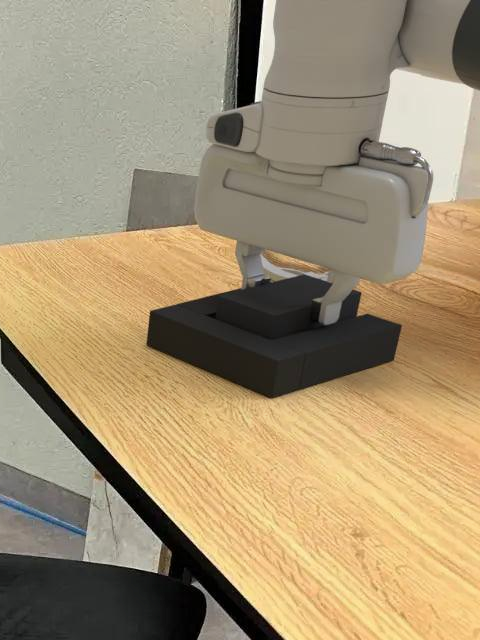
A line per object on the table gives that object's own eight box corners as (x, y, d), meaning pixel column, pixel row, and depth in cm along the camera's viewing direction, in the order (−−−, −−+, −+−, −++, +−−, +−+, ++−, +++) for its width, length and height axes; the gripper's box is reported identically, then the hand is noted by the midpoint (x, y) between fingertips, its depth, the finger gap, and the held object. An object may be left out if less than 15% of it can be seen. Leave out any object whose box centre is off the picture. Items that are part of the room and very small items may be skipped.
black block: (298, 308, 99) (304, 274, 97) (354, 327, 94) (362, 292, 93) (213, 331, 94) (218, 295, 93) (268, 352, 90) (274, 315, 88)
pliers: (356, 246, 114) (391, 293, 102) (352, 261, 115) (388, 310, 103) (254, 244, 115) (277, 291, 103) (252, 260, 116) (274, 308, 104)
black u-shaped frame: (263, 313, 103) (269, 280, 101) (394, 360, 93) (402, 324, 91) (145, 344, 97) (149, 310, 95) (271, 398, 87) (277, 360, 85)
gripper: (467, 147, 80) (421, 337, 87) (248, 106, 95) (225, 272, 102) (407, 159, 77) (365, 354, 85) (192, 115, 92) (172, 285, 99)
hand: (287, 309), depth 93 cm, fingers closed on black block, 6 cm apart
